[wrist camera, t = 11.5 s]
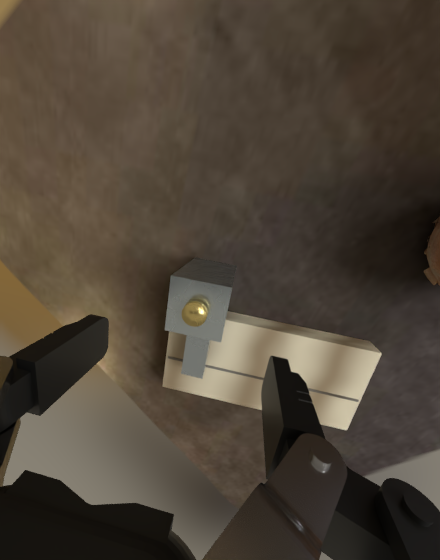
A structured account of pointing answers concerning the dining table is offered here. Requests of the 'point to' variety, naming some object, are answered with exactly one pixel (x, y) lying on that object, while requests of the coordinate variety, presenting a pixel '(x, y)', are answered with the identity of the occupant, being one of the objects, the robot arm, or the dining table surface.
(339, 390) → the board
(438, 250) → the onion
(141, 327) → the dining table surface
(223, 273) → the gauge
